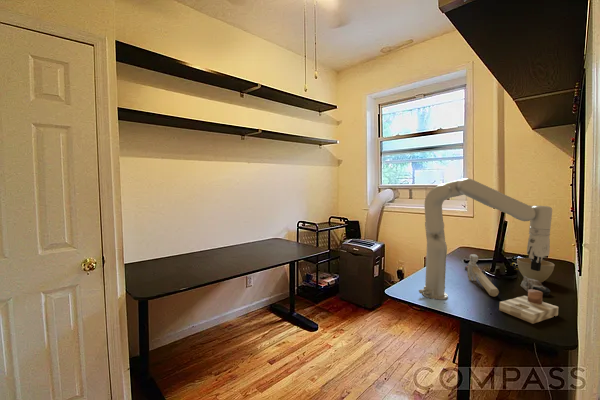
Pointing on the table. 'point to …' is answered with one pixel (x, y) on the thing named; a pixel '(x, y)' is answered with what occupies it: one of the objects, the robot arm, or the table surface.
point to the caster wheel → (534, 285)
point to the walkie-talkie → (467, 270)
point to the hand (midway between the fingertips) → (535, 270)
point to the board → (528, 309)
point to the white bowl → (526, 270)
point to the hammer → (480, 276)
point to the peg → (535, 297)
